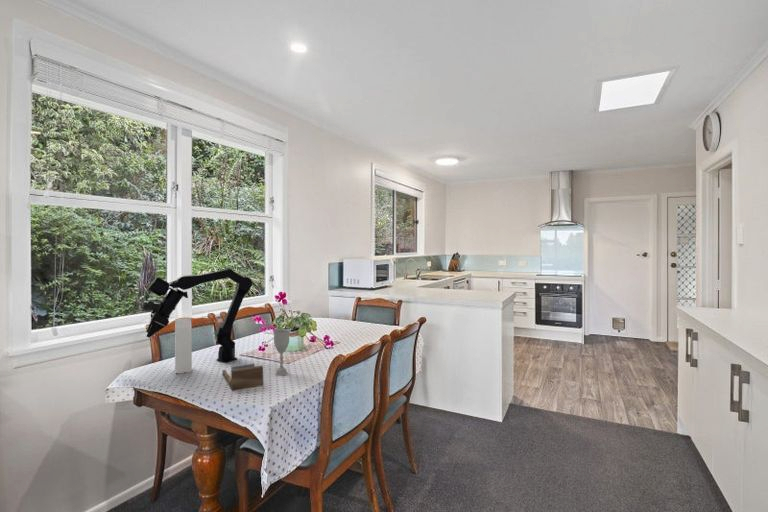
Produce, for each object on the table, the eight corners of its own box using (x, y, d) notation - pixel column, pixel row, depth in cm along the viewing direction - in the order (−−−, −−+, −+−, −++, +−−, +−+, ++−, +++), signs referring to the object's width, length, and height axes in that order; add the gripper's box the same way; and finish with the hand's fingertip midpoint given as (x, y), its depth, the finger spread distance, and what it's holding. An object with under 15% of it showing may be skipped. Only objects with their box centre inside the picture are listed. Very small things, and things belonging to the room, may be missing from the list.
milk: (191, 371, 165) (192, 319, 164) (175, 374, 162) (175, 320, 161) (190, 367, 170) (191, 316, 169) (174, 369, 167) (174, 317, 166)
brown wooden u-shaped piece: (222, 374, 161) (222, 357, 161) (250, 370, 167) (250, 354, 167) (232, 390, 144) (232, 371, 144) (262, 385, 150) (263, 366, 150)
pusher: (231, 382, 152) (231, 366, 152) (253, 378, 157) (253, 363, 157) (231, 382, 152) (231, 367, 151) (254, 379, 156) (254, 363, 156)
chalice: (293, 372, 165) (294, 329, 165) (283, 377, 159) (283, 332, 159) (279, 370, 168) (280, 327, 168) (268, 374, 162) (269, 331, 162)
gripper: (151, 290, 174) (128, 321, 170) (152, 295, 158) (127, 330, 154) (175, 302, 179) (154, 333, 175) (178, 308, 163) (155, 342, 159)
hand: (147, 334), depth 166 cm, fingers open, 9 cm apart
